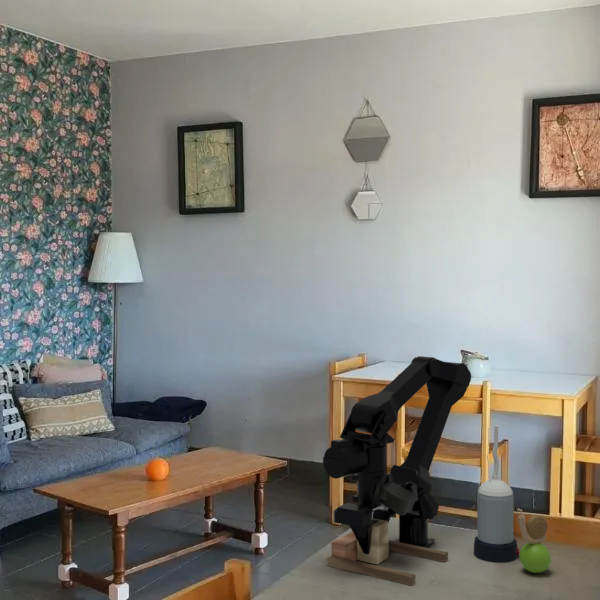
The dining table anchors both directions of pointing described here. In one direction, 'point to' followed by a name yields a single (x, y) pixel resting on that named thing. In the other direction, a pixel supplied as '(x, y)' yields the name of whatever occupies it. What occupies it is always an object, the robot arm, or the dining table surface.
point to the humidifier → (495, 517)
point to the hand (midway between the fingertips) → (372, 550)
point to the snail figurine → (534, 543)
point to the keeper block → (376, 544)
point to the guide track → (347, 556)
